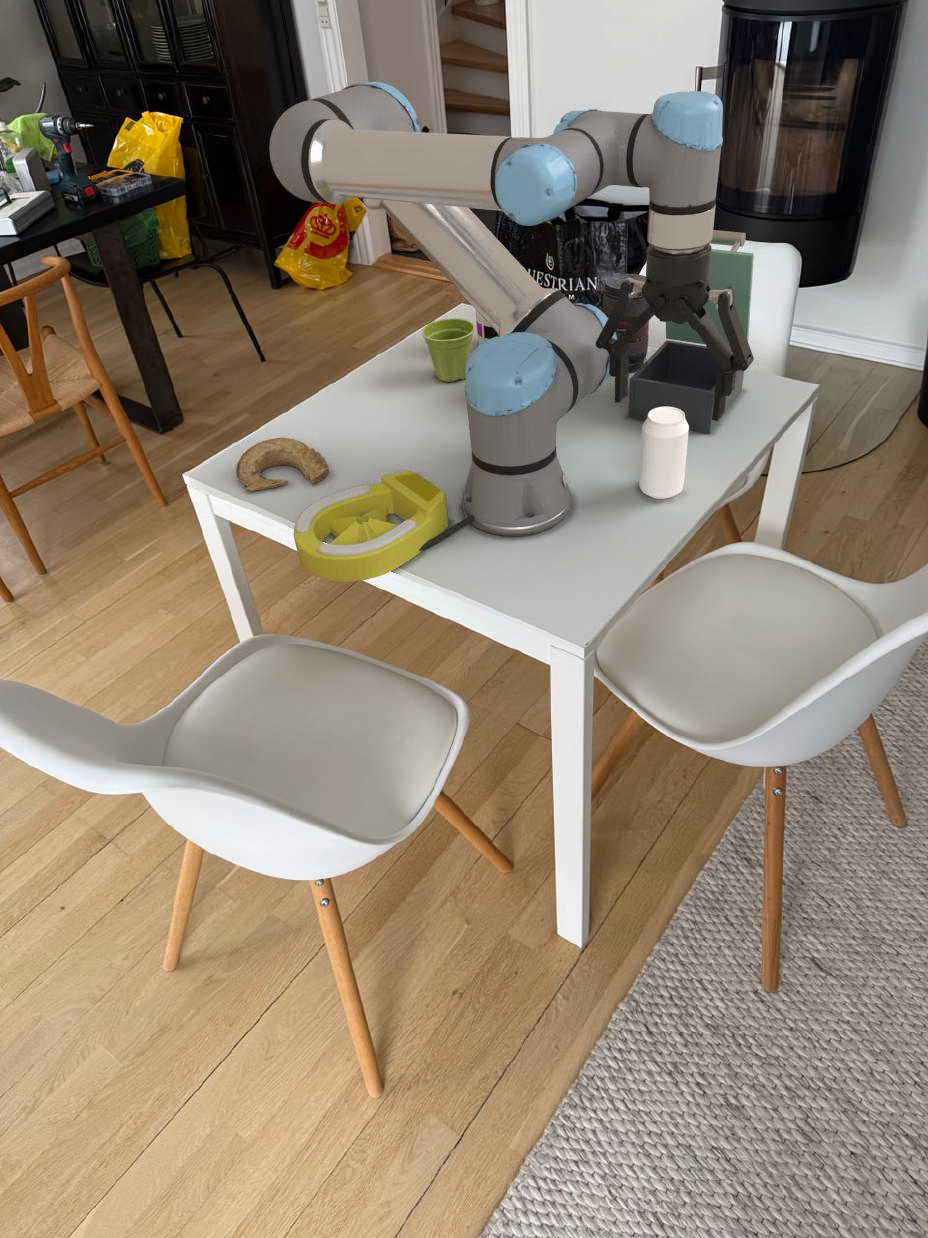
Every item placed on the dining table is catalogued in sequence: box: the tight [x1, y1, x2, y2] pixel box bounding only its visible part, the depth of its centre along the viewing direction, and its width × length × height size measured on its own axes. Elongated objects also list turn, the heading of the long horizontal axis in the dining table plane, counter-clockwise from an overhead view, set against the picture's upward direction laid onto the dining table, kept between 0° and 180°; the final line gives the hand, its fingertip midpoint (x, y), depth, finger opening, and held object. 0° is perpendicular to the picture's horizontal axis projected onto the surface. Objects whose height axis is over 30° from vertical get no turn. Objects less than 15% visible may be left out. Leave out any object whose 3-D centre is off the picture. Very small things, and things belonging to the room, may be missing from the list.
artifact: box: [236, 437, 330, 492], centre depth 141 cm, size 12×3×15 cm
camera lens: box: [602, 273, 650, 374], centre depth 156 cm, size 8×8×15 cm
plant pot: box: [421, 317, 476, 383], centre depth 160 cm, size 9×9×9 cm
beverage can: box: [638, 407, 690, 500], centre depth 125 cm, size 6×6×12 cm
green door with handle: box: [665, 229, 755, 348], centre depth 144 cm, size 16×14×9 cm
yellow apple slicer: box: [293, 470, 450, 583], centre depth 124 cm, size 16×21×5 cm
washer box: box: [627, 339, 745, 434], centre depth 146 cm, size 16×14×7 cm
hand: (668, 407), depth 120 cm, fingers open, 13 cm apart
